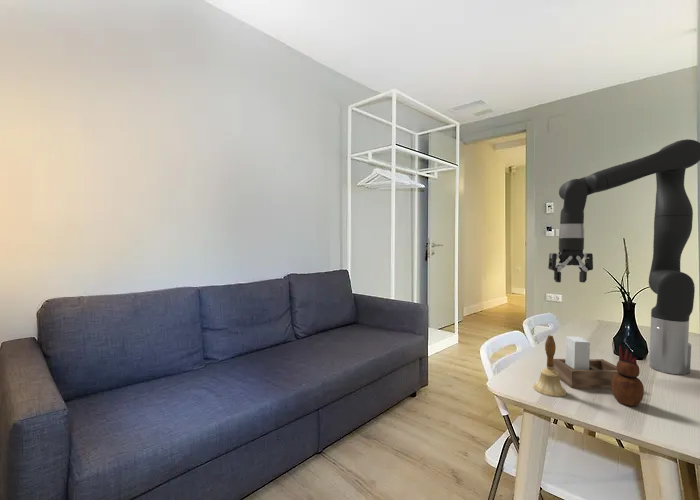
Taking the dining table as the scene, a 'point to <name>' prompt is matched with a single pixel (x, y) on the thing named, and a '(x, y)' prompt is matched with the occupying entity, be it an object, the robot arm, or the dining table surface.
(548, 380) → the hand bell
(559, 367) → the walnut rail
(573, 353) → the skincare box
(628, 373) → the wooden figurine
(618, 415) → the dining table surface
